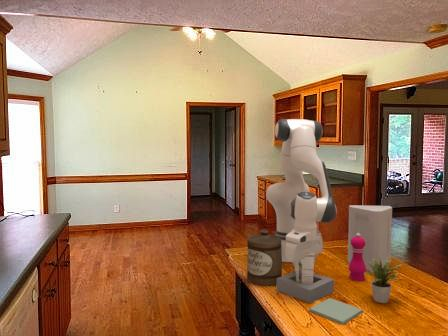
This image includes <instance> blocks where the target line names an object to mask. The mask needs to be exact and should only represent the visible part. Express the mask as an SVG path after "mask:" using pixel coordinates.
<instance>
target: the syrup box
mask: <svg viewBox="0 0 448 336" xmlns="http://www.w3.org/2000/svg"><path fill="white" fill-rule="evenodd" d="M298 264H299V266H301V268H300V269H301V270H300V271H296V281H297V282H300V283H303V284H305V285H310V284H313V273H314V270H315V269H314V268H315V267H314V266H315V262H314V253H312V252H309V253H306V254H305V259H302V260H299V263H298Z"/></svg>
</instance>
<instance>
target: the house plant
mask: <svg viewBox="0 0 448 336" xmlns="http://www.w3.org/2000/svg"><path fill="white" fill-rule="evenodd" d="M373 261H374V265H373V266H372V265H371V264H370V263H368V262H367V261H366V262H367V263H368V264H369V265H370V267H371V268H372V269H373V271H374V272H371V271H366V272H364V274H367V275H370V276H372V277H373V278H374V280H373V281H371V282H370V284H371V291H372V297H373V298H372V299H373V301H374V302H377V303H380V304H387V303H388V302H389V300H390V294H391V290H392V286H393V285H392V284H391V283H389V282H391V281H392V280H394V281H395V282H398V280H397V279H396V278H397V277H398V276H397V275H399V274H400V273H399V272H397V273H393V271H394V270H400V269H402V268H401V266H402V264H398V265H394V266H393V267H391V262H392V261H393V259H391V260H390V261H389V258H388V260H387V261H386V263H385V265H384V267H383V269H382V263H381V260H380V257H379V262H380V265H379V264H378V263H377V261H376V260H375V258H373ZM388 261H389V262H388ZM374 266H375V267H374ZM373 267H374V268H373Z"/></svg>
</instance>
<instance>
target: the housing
mask: <svg viewBox="0 0 448 336" xmlns="http://www.w3.org/2000/svg"><path fill="white" fill-rule="evenodd" d="M276 292H278V293H282V294H284V295H287V296H289V297H292V298H294V299H297V300H300V301H302V300H303V302H304V303H308V304H312V303H314V302H316V301H318V300H320V299H323V298H324V297H326V296H329V295H331V294H332V293H334V292H335V279H334V278H331V277H328V276H324V275H321V274H318V273H314V272H313V284H310V285H305V284H303V283H300V282H297V281H296V271H295V270H294V271H293V272H290V273H287V274H284V275H282V277H279V278H277V284H276Z"/></svg>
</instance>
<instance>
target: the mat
mask: <svg viewBox="0 0 448 336" xmlns="http://www.w3.org/2000/svg"><path fill="white" fill-rule="evenodd" d="M308 310H309V312H310V313H312V314H315V315H318V316H319V317H320V316H321V317H323V318H325V319H328V320H329V321H333V322H335V323H338V324H340V325H342V326H343V325H344V324H346V323H348V322H349V321H351V320H353V319H355V318H356V317H359V315H361V314H362V313H363V311H364V310H363V308H362V309H361V308H359V307H356V306H354V305H351V304H347V303H344V302H342V301H339V300H336V299H334V298H331V297H329V298H327V299H325V300H323V301H321V302H320V303H318V304H315V305H314V306H311V307H310V308H309V309H308Z"/></svg>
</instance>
